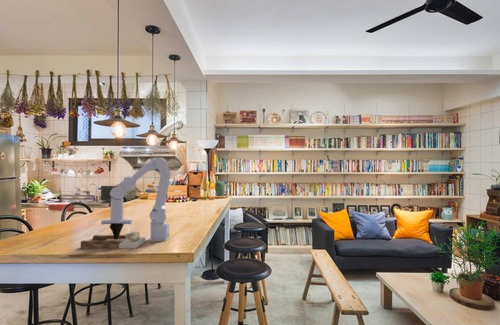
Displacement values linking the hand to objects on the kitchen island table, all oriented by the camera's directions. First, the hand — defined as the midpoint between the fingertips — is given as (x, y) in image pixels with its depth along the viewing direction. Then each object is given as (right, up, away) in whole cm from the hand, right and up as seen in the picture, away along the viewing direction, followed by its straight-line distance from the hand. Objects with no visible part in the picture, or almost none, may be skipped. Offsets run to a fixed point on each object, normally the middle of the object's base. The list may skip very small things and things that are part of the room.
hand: (116, 238), depth 141 cm
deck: (-1, -3, 0) cm, 3 cm away
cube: (+8, -1, 0) cm, 8 cm away
